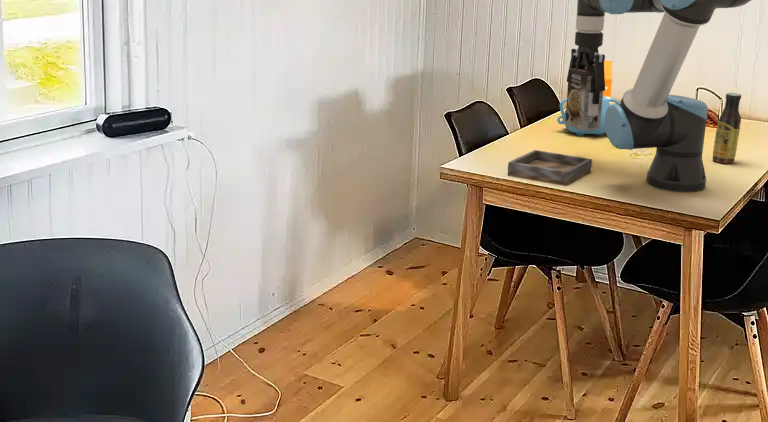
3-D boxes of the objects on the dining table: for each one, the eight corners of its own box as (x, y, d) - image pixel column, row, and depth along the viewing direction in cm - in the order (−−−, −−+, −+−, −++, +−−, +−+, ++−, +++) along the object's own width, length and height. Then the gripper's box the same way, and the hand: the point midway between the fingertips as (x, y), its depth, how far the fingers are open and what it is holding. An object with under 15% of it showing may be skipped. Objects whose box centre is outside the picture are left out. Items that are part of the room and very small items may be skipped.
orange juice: (580, 116, 343) (585, 57, 337) (606, 117, 342) (612, 59, 336) (581, 120, 336) (586, 61, 330) (608, 122, 335) (613, 62, 328)
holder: (591, 171, 274) (592, 159, 273) (566, 185, 260) (567, 172, 259) (534, 161, 283) (535, 149, 282) (507, 174, 269) (508, 162, 268)
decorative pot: (584, 125, 330) (587, 84, 326) (623, 134, 318) (627, 91, 314) (551, 131, 320) (554, 89, 316) (590, 141, 309) (594, 97, 304)
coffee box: (563, 124, 285) (567, 68, 280) (583, 123, 287) (587, 67, 283) (581, 131, 277) (585, 73, 272) (601, 129, 279) (605, 72, 275)
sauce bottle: (707, 159, 289) (715, 92, 283) (724, 158, 291) (733, 90, 285) (722, 165, 283) (731, 96, 277) (740, 163, 286) (749, 95, 280)
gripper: (623, 35, 266) (616, 118, 272) (580, 26, 285) (575, 104, 292) (598, 36, 263) (592, 120, 270) (557, 27, 283) (552, 105, 289)
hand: (583, 112), depth 281 cm, fingers closed on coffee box, 9 cm apart
